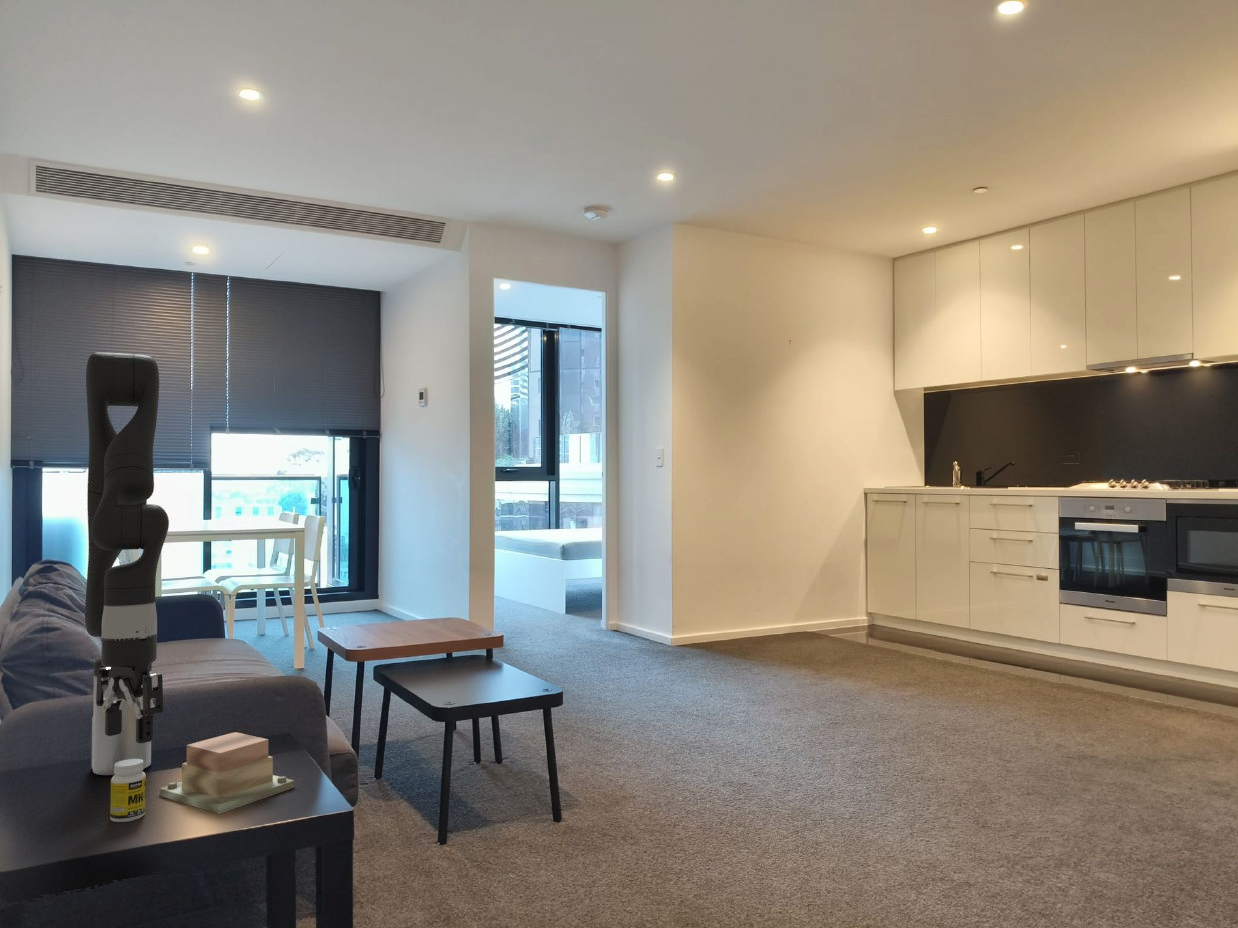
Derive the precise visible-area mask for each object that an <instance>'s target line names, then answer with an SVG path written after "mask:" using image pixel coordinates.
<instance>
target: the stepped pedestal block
mask: <svg viewBox="0 0 1238 928" xmlns="http://www.w3.org/2000/svg"><path fill="white" fill-rule="evenodd" d="M273 762H274V757H273V756H271V755H269V739H268V738H264V737H259V736H254V735H251V734H250V735H249V734H247V733H246V734H245V733H241V732H236V731H235V732H230V733H227V734H223V735H219V736H215V737H212V738H207V739H205V740H204V739H203V740H200V741H196V742H193V743H189V744H186V761H185V762H182V763H181V781H179V782H176V781H175V782H169V783H168V784H167V786H162V787H160V788H159V791H158V792H159V794H158V796H159V797H162V798H165V799H167V800H168V799H169V800H171V801H175V802H178V803H181V804H186V805H189V806H192V807H195V808H197V809H201V810H204V811H205V810H206V811H208V812H211V813H214V814H218V815H221V814H223V813H225V812H228V811H231V810H234V809H237V808H241V807H242V806H246V805H249V804H251V803H252V804H253V803H254V802H257V801H260V800H263V799H265V798H269V797H272V796H274V795H277V794H280V793H283V792H285V791H289V790H291V789H294V788H295V780H294V779H290V778H287V776H278V775H274V774H273V773H274V770H273V769H274V763H273Z"/></svg>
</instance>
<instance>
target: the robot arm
mask: <svg viewBox="0 0 1238 928" xmlns="http://www.w3.org/2000/svg"><path fill="white" fill-rule="evenodd" d="M85 370H86V371H85V388H86V404H87V405H86V406H87V423H88V466H87V467H88V470H87V492H86V494H87V497H86V498H87V499H86V501H87V503H86V504H87V505H86V506H87V529H88V531H87V532H88V535H87V537H88V556H87V557H88V558H87V560H88V561H87V572H86V574H87V575H86V585H85V587H86V588H85V590H86V591H85V603H84V604H85V605H84V621H85V628H86V632H87V634H88V635H89V636H91V637H96V638H101V654H100V655H101V656H99V657H98V658H96V659H95V660H94V664H93V715H92V717H91V722H92V723H91V768H92V773H94V774H95V775H100V776H115V774H114V764H115V763H117V762H119V761H123V760H128V759H142V760H143V764H144V768H143V770H144V769H145V768H148V767H150V765H151V763H152V740H153V738H154V737H153V735H154V734H153V733H154V731H153V730H154V729H153V727H154V716H156V715H158V714H162V713H163V712H164V694H163V693H164V689H163V686H164V685H163V683H164V682H163V674H162V673H161V672H160V673H153V672H152V670H153V669H152V668H153V667H152V663H154V662H156V660H157V655H158V654H157V653H158V651H157V650H158V648H157V647H158V645H157V644H158V616H157V615H158V614H157V607H156V581H157V579H156V577H157V572H158V571H157V569H158V564H159V560H160V556H161V552H162V550H163V546H164V544H165V541H166V538H167V534H168V532H169V528H170V527H169V526H170V520H169V516H168V513H167V512H166V510H165V509H164V508H163V507H162V506H160V505H158V504H153V503H152V504H151V503H148V499H150V498H151V497H152V496H153V493H154V489H155V476H154V442H155V434H156V428H157V421H158V420H157V419H158V409H159V400H160V399H159V396H160V372H159V366H158V363H157V361H156V360H155V358H153V357H152V356H150V355H146V354H136V353H134V354H132V353H117V352H105V351H104V352H102V351H101V352H99V351H96V352H93V353H91V354H90V355H89V357H88V359H87V363H86V369H85ZM108 407H135V408H137V409H136V412H135V413H134V414H133V416H132V417H131V419H130V420H129V422H127V424H126V425H125V426H124V427H123V428H122V429H121V430H120V431H119V432H118V433H117V431H116V429H115V426H114V425H113V423H112V421H111V418H110V415H109V410H108ZM123 550H124V551H127V550H128V551H129V550H142V553H141V555H140V556H139V558H137V559H136V560H134V561H132V562H129V563H128V562H127V563H124V564H120V565H116V566H115V565H114V564H115V563H116V560H117V558H118V557H119V555H120V554H121V552H122V551H123ZM153 700H155V702H154V701H153Z"/></svg>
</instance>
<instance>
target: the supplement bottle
mask: <svg viewBox="0 0 1238 928" xmlns="http://www.w3.org/2000/svg"><path fill="white" fill-rule="evenodd" d="M143 768H144V764H143V760H142V759H128V760H123V761H119V762H117V763H115V764H114V774H115V775H112V778H111V779H110V803H109V805H110V807H109V808H110V810H109V811H110V812H109V813H110V814H109V818H110V821H112V822H114V823H126V822H127V823H128V822H133V821H136V820H139V819H141V818H142V817H144V816H145V814H146V791H147V790H146V787H147V785H146V783H147V776H146V775H147V774H146V773H145V772H144V771H143V770H144V769H145V768H144V769H143Z"/></svg>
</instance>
